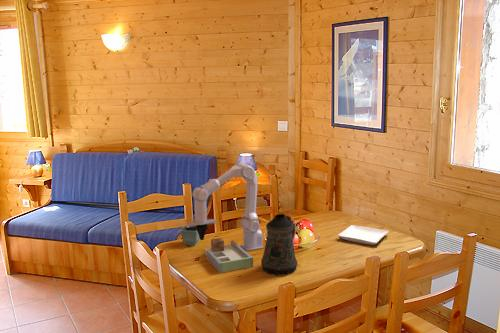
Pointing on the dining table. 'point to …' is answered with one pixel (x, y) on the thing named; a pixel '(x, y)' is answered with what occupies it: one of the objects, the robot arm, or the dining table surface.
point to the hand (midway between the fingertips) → (201, 239)
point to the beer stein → (279, 247)
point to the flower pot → (190, 235)
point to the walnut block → (217, 245)
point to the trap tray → (229, 258)
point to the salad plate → (362, 234)
